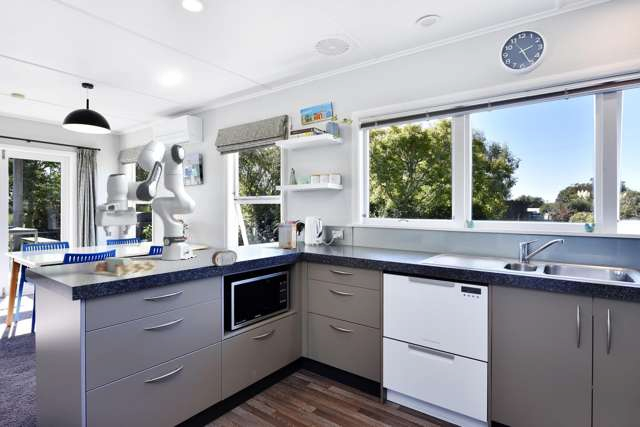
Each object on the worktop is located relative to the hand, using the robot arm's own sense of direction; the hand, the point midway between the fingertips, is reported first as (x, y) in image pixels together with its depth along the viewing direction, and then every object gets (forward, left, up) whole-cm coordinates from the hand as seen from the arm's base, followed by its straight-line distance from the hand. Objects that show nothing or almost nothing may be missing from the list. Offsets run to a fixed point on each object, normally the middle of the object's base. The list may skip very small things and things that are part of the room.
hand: (117, 235), depth 166 cm
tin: (-39, +35, -18) cm, 55 cm away
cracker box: (-133, +30, -18) cm, 137 cm away
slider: (0, 0, -17) cm, 17 cm away
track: (-5, 0, -18) cm, 19 cm away
